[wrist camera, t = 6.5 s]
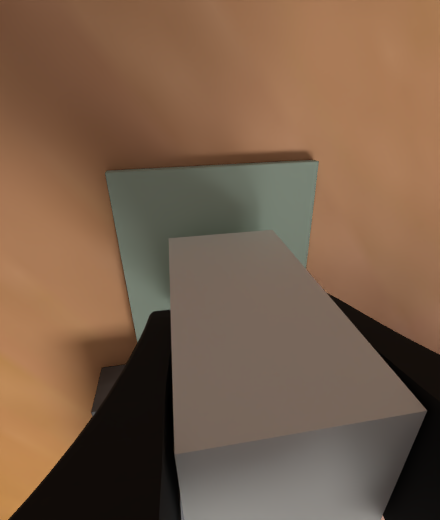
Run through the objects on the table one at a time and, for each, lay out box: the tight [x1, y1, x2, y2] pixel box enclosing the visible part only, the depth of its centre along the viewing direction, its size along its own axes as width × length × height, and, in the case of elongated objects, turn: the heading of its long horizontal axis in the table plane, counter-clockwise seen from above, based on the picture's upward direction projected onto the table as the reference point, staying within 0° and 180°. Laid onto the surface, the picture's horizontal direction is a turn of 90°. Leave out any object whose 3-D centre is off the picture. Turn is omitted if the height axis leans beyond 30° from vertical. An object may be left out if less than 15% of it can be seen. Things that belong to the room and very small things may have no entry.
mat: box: [105, 160, 319, 343], centre depth 13 cm, size 8×8×1 cm
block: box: [169, 230, 427, 520], centre depth 9 cm, size 4×4×8 cm
